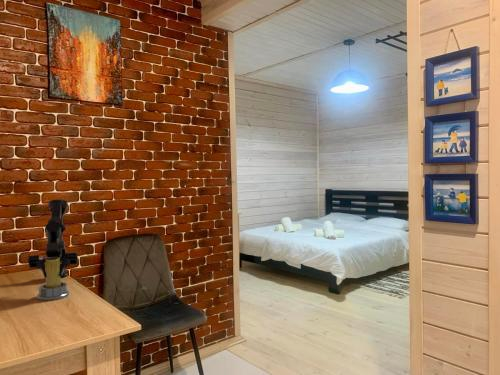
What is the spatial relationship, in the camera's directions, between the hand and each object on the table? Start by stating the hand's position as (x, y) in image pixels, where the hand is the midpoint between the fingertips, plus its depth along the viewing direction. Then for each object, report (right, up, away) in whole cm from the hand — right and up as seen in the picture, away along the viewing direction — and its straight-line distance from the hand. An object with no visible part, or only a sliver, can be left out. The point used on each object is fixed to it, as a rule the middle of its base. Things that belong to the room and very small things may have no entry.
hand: (52, 276), depth 159 cm
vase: (-1, -7, +2) cm, 7 cm away
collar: (-1, -8, +2) cm, 9 cm away
